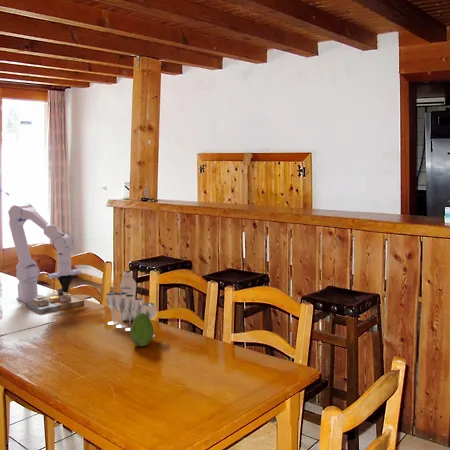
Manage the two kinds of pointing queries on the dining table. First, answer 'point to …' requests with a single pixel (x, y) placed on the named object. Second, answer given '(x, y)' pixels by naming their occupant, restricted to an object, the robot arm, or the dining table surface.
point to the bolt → (57, 298)
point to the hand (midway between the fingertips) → (65, 292)
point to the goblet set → (128, 307)
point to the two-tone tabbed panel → (53, 303)
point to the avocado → (142, 330)
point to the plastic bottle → (128, 293)
